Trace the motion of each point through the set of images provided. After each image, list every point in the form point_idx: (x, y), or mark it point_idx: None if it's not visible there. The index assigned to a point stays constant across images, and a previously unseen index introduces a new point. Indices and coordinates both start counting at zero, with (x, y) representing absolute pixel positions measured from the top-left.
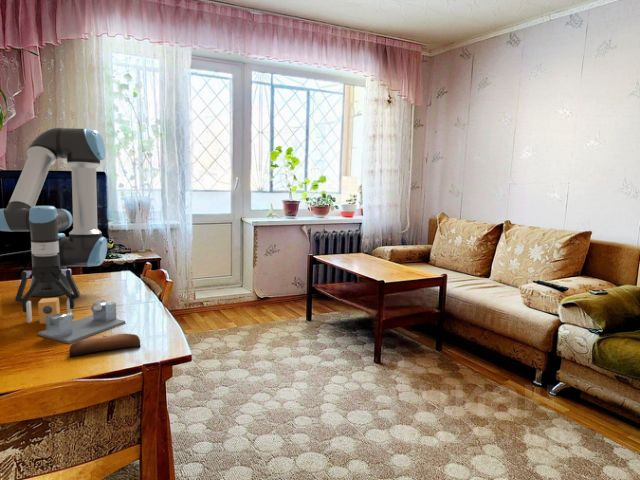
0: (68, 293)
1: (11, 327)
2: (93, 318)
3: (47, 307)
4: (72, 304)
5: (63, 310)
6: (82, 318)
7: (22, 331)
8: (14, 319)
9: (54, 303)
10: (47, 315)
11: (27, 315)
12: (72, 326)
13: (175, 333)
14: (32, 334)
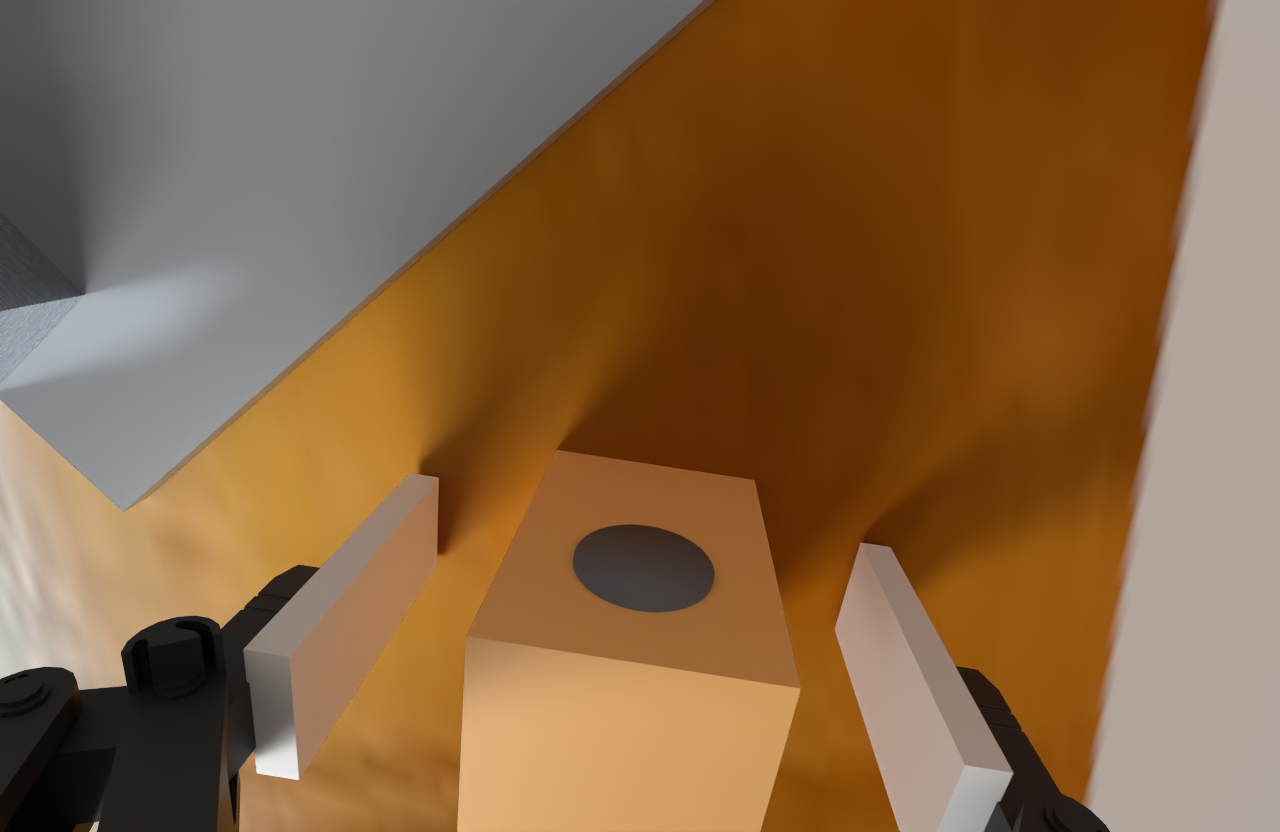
0: (128, 791)
1: (1074, 466)
2: (70, 294)
3: (639, 589)
4: (260, 612)
5: None
6: (239, 393)
7: (966, 236)
8: None
9: (505, 618)
10: (655, 515)
11: (916, 605)
12: (299, 51)
13: None
14: (848, 21)
